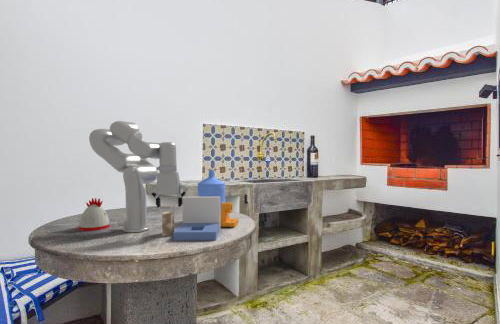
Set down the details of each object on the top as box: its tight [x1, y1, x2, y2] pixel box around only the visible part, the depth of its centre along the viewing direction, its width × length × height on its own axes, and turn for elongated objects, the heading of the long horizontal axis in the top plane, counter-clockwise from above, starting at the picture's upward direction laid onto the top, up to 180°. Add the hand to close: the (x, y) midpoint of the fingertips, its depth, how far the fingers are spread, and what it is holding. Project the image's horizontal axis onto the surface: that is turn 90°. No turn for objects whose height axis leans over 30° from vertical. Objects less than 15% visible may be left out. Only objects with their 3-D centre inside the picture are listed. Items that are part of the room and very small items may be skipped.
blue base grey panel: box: [172, 196, 221, 242], centre depth 140 cm, size 18×20×16 cm
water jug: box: [196, 169, 226, 214], centre depth 173 cm, size 16×16×28 cm
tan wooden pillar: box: [161, 210, 175, 237], centre depth 141 cm, size 4×6×10 cm, turn 0°
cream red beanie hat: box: [78, 197, 111, 232], centre depth 155 cm, size 14×14×15 cm
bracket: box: [220, 201, 239, 228], centre depth 158 cm, size 11×7×12 cm, turn 168°
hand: (169, 206), depth 141 cm, fingers open, 9 cm apart
